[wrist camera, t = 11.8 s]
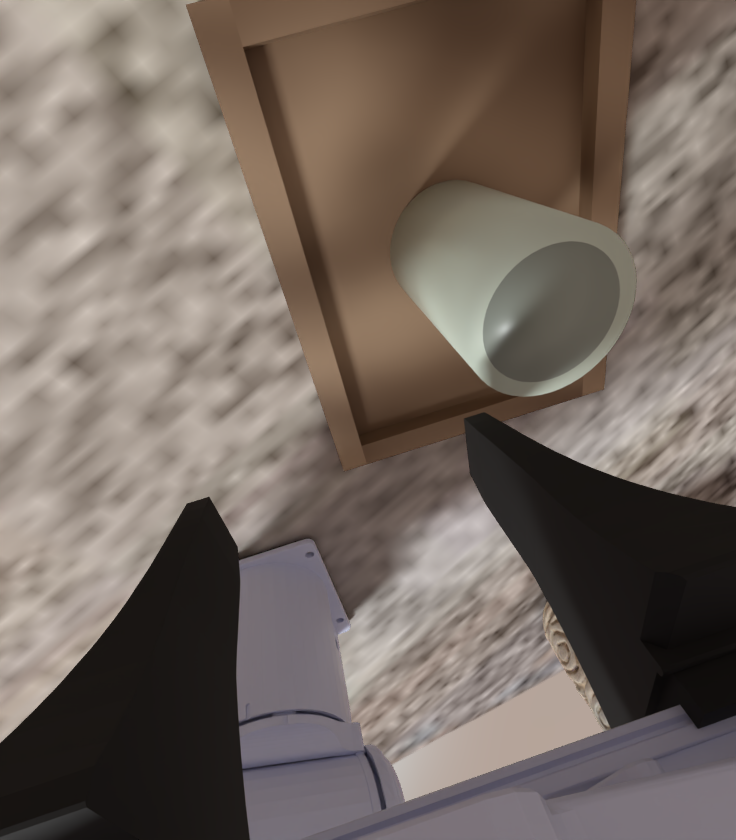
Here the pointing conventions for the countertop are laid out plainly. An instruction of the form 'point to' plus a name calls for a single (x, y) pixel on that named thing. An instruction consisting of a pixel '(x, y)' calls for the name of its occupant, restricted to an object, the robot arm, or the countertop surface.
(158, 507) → the countertop surface
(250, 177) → the tray
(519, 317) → the cup
